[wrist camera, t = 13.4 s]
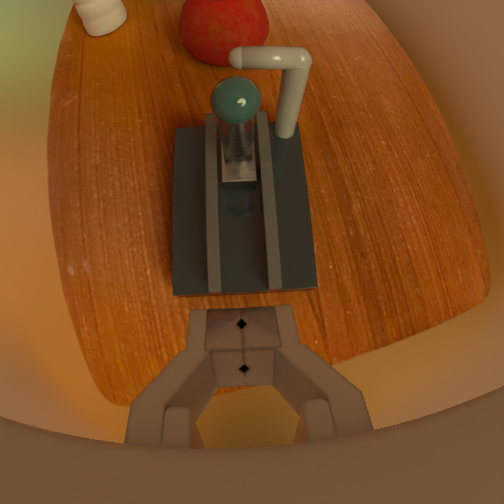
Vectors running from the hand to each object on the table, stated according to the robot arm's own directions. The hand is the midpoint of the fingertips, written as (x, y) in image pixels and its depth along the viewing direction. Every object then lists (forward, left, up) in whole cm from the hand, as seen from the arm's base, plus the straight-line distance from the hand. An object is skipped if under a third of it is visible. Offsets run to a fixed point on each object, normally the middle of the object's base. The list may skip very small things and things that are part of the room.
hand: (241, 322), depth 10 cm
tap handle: (0, +13, -16) cm, 21 cm away
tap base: (0, +10, -19) cm, 22 cm away
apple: (-1, +33, -19) cm, 38 cm away
